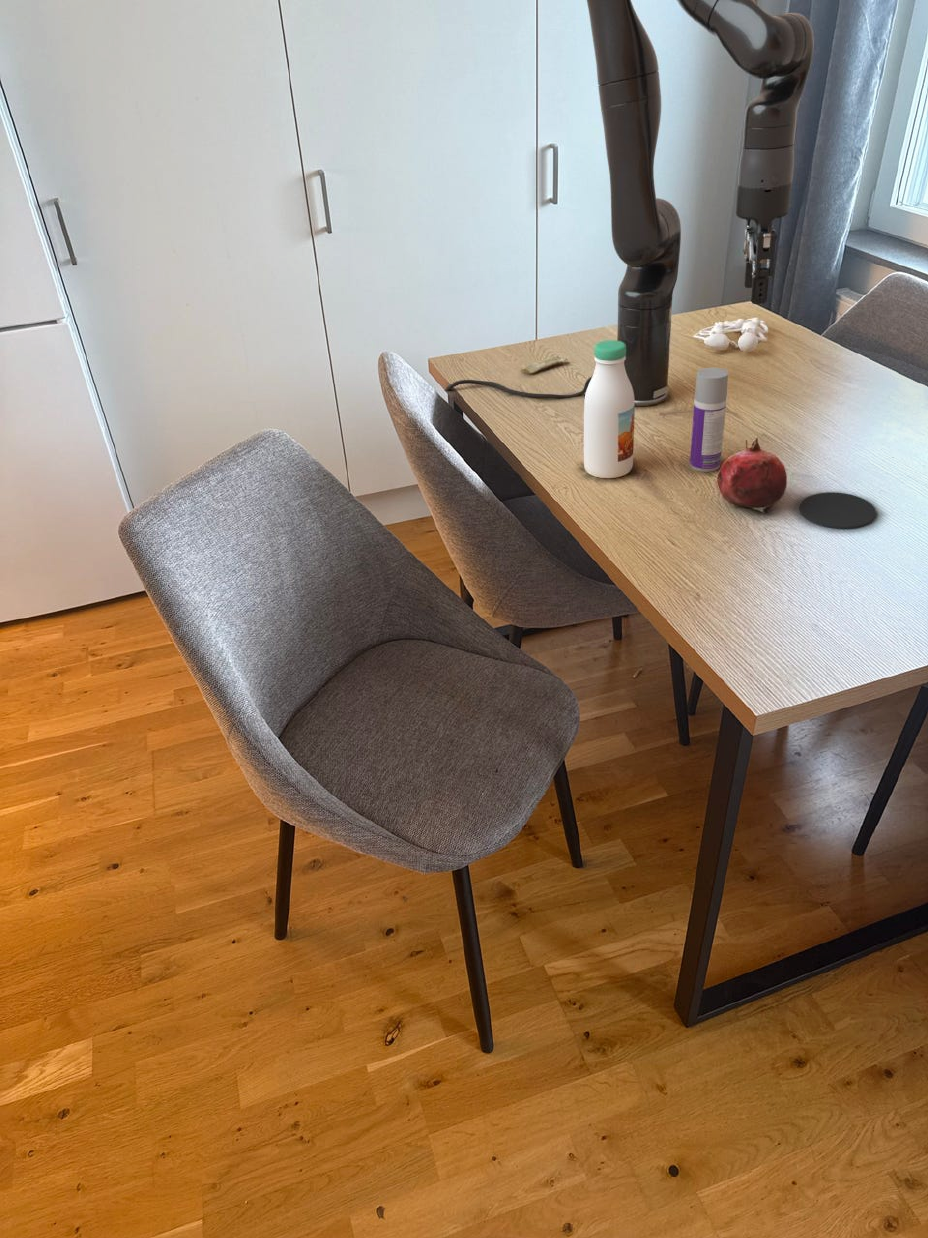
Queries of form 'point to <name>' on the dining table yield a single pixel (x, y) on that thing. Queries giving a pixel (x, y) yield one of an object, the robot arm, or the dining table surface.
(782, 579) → the dining table surface
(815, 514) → the coaster
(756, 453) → the fruit
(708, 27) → the robot arm
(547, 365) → the snack bar
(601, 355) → the milk bottle
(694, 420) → the container
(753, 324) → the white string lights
